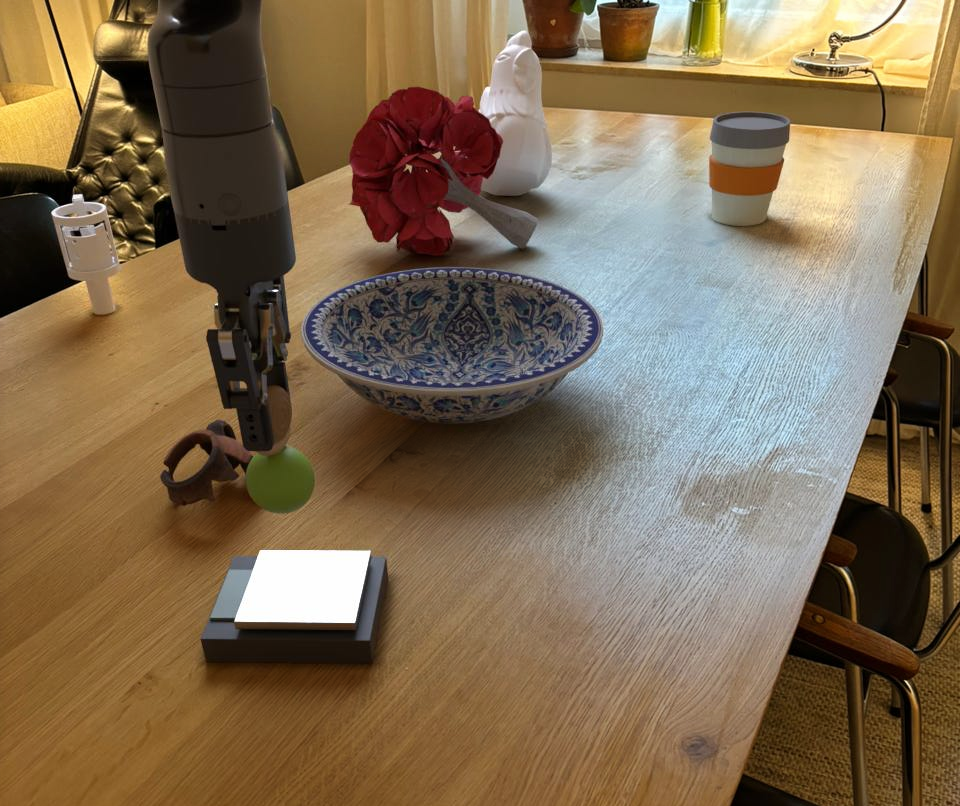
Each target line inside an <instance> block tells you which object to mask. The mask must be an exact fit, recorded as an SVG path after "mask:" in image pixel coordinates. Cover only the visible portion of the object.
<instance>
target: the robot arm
mask: <svg viewBox="0 0 960 806" xmlns="http://www.w3.org/2000/svg"><path fill="white" fill-rule="evenodd" d="M157 2H158V4H157V14H156V17H155V19H154V21H153V23H152V25H151V26H150V30H149V32H148V34H147V42H146V43H147V44H146V45H147V59H148V66H149V71H150V72H149V73H150V76H151V81H152V87H153V92H154V96H155V102H156V109H157V113H158V117H159V122H160V127H161V133H162V139H163V140H162V141H163V158H164V167H165V173H166V178H167V183H168V188H169V194H170V199H171V204H172V208H173V213H174V218H175V223H176V229H177V233H178V238H179V243H180V244H179V245H180V249H181V254H182V259H183V263H184V268H185V271H186V273H187V274H188V275H189V277H191V278H192V279H193V280H194V281H196V282H199V283H200V284H206V285H208V286H210V287H212V288H213V289H214V290H215V292H216V293H217V296H216V298H217V303H214V307H213V316H214V317H213V319H214V325H215V327H216V328H208V329H207V331H206V334H205V341H206V343H207V347H208V351H209V355H210V360H211V364H212V367H213V372H214V375H215V379H216V385H217V389H218V391H219V392H218V393H219V397H220V399H221V400H220V401H221V405H222V407H223V409H224V410H232V409H233V410H234V409H235V410H236V415H237V421H238V426H239V431H240V432H239V433H240V438H241V442H242V443H241V444H242V445H243V447H244V448H245V449H246V450H247V451H250V452H256V451H270V450H271V449H272V448H273V445H274V435H273V429H272V423H271V417H270V411H269V405H268V401H267V400H268V393H267V387H268V386H273V385H276V386H279V387H281V388H283V389H284V390H285V391H286V392H287V394H288V396H289V398H290V401H291V400H292V399H291V394H290V386H289V379H288V373H287V365H286V362H287V359H288V356H289V350H288V349H287V345H286V344H290V341H291V339H292V333H291V331H290V320H289V312H288V303H287V295H286V286H285V285H286V284H285V277H284V276H286V274H288V273H290V272H291V270H292V269H293V268H294V266H295V264H296V260H297V255H296V248H295V239H294V231H293V226H292V225H293V224H292V217H291V210H290V201H289V194H288V188H287V187H288V186H287V179H286V172H285V164H284V159H283V154H282V150H281V145H280V142H279V138H278V135H277V131H276V125H275V120H274V112H273V103H272V98H271V90H270V82H269V75H268V67H267V62H266V61H267V60H266V57H265V56H266V55H265V52H264V47H263V39H262V18H263V0H157ZM241 382H243V383H244V385H246V387H241ZM291 402H292V401H291Z"/></svg>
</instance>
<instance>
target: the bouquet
mask: <svg viewBox="0 0 960 806" xmlns="http://www.w3.org/2000/svg"><path fill="white" fill-rule="evenodd" d="M474 105H475V102H474V98H473V96H470V95H461V97H460V98H458V100H457V102H456V103H454V102H453V101H452V100H451V99H450V98H449V97H447V96H444V95H443V94H442V93H440V92H439V91H437V90H434V89H428V88H425V87H421V86H409V87H408V88H407V89H406V88H402V89H397V90H395V91H394V92H392V93H391V95H390V96H389V97H388V99H382V100H381V101H380V102H379V103H378V104H377V105H375V106H374V108H372V110H371V111H370V112H369V114H368V116H367V119H366V122H365V123H364V124H363V125H362V126H361V128H360V129H359V130H358V132H356V134H355V136H354V139H353V142H352V146H351V149H350V151H349V165H350V167H351V170H352V178H351V188H352V193H351V200H350V202H349V203H348V205H350V206H353V207H354V206H355V207H359V210H360V211H361V213H362V215H363V216H364V219H365V223H366V225H367V227H368V229H369V230H370V232H371V236H372V239H373V240H375V242H377V243H380V244H382V243H385V244H388V243H390V242H391V241H392V239H393V238H394V237H395V236H396V237H395V239H396V241H395V242H396V252H399V251H401V249H402V250H404V251H406V252H407V251H408V252H414V253H417V254H425V255H426V254H428V255H431V256H435V257H436V256H442V255H443V256H444V255H445V254H448V253H450V250H451V248H452V249H454V244H455V243H454V242H455V236H454V234H453V232H452V229H451V228H452V227H451V224H450V220H449V218H447V216H446V215H445V214H444V212H443V211H446V212H448V213H458V214H460V213H462V212H463V210H466V209H470V210H472V211H474V212H475V213H477V214H478V215H479V216H480V217H482V218H483V219H484V220H485V221H486V222H487V223H488V224H489V225H491V227H492V228H493V229H494V230H496V231H497V233H499V234H500V235H501V236H502V237H504V238H505V239H506V240H507V241H508V242H509V243H510V244H511V245H513V246H515V247H517V248H519V249H521V250H523V249H525V247H526V246H527V245H528V243H529V241H530V239H531V238H532V236H533V234H534V232H535V230H536V228H537V224H538V222H539V219H538V218H537V217H535V216H534V215H532V214H530V213H529V212H527V211H524V210H520V209H517V208H514V207H511V206H507V205H504V204H501V203H498V202H494V201H492V200H489V199H486V198H483V197H482V196H481V193H482V190H480V189H481V185H482V181H483V177H484V178H486V179H488V178H489V177H490V176H491V175H492V174H493V172H494V169H495V167H496V164H497V160H498V158H499V157H500V151H501V148H502V144H503V140H502V137H501V136H500V135H499V134H497V133H496V130H495V129H494V128H492V127H491V124H490V120H489V119H488V118H487V117H485V116H484V115H483V114H481V113H479V110H477V108H475V107H474ZM438 153H440V156H439V157H437V156H434V155H435V154H438ZM466 157H467V158H466ZM407 166H411V170H410V169H409V168H407ZM441 209H442V210H443V211H442V210H441Z"/></svg>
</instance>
